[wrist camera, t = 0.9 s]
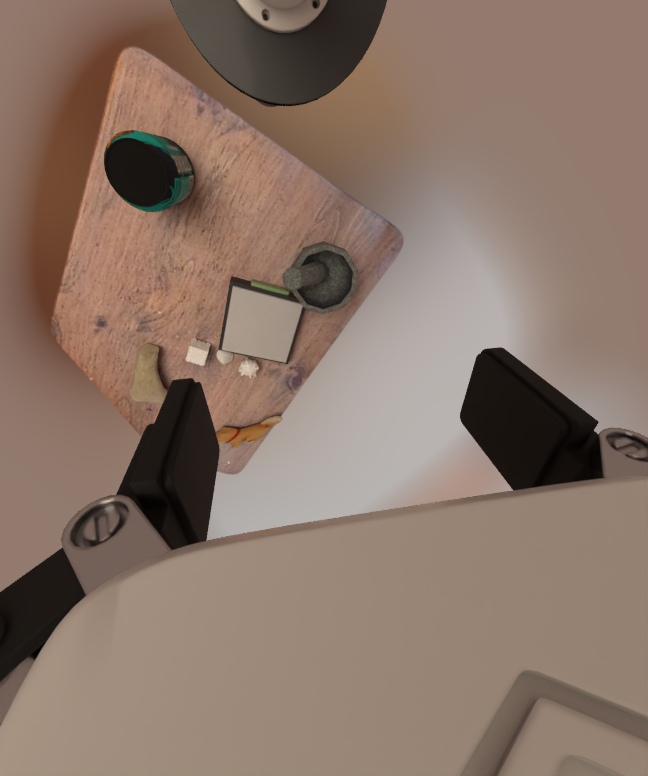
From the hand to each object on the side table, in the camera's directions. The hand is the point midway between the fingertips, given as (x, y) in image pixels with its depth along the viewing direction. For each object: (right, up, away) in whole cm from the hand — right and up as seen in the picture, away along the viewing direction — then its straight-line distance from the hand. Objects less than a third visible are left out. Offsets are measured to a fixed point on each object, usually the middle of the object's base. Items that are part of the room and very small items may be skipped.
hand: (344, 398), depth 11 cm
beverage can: (-21, +29, +31) cm, 47 cm away
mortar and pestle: (-2, +20, +40) cm, 45 cm away
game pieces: (-18, +6, +47) cm, 51 cm away
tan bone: (-31, +4, +46) cm, 56 cm away
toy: (-16, -10, +57) cm, 60 cm away
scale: (-11, +12, +44) cm, 47 cm away
